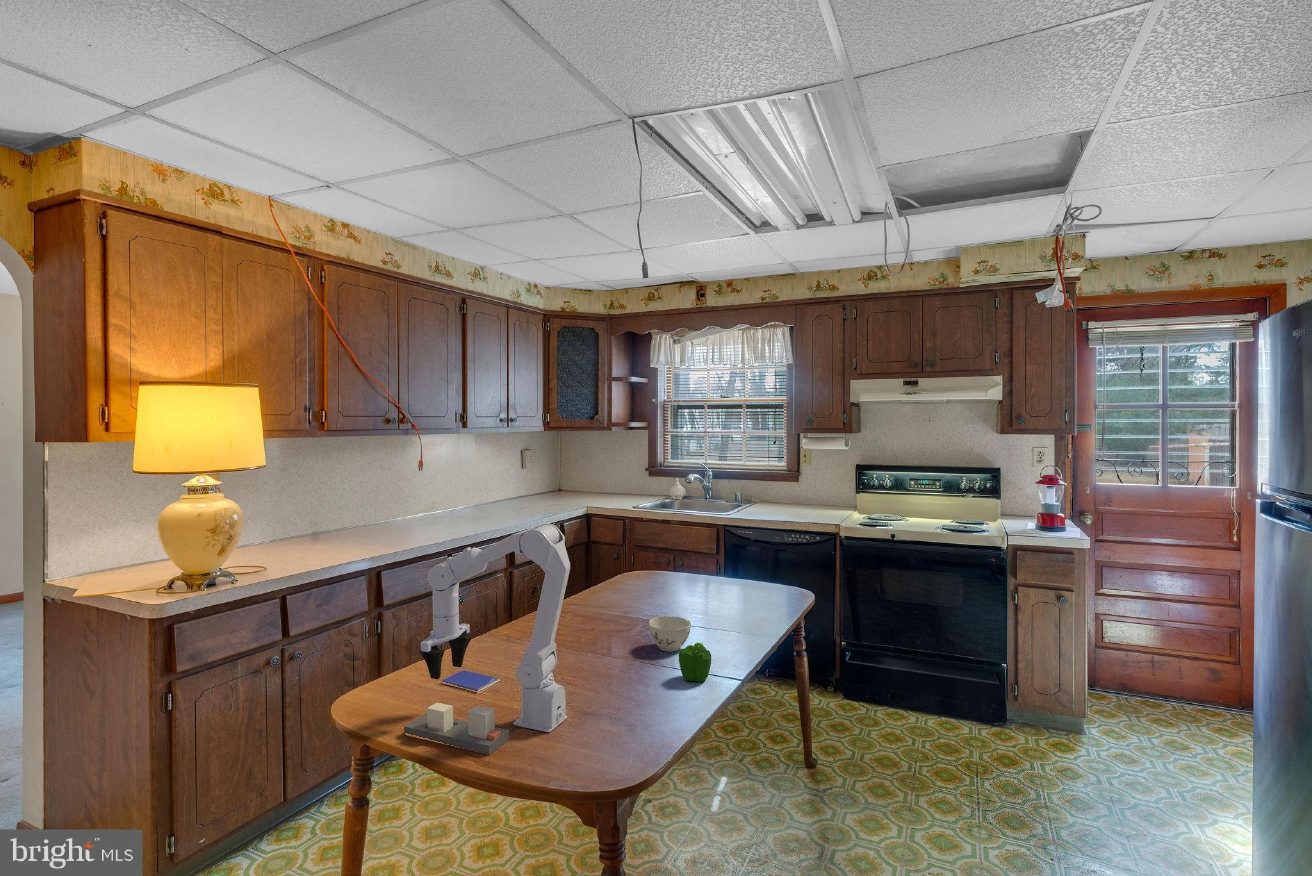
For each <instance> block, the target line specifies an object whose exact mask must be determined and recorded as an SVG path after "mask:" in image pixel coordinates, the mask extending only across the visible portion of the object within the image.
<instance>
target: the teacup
mask: <svg viewBox="0 0 1312 876" xmlns="http://www.w3.org/2000/svg"><path fill="white" fill-rule="evenodd" d="M691 627H692V623H691V621H690V620H687V619H686V618H684V617H681V616H673V615H672V616H671V615H669V616H667V615H661V616H655V617H652V618H650V620H649V621H648V630H649V633H650V636H651V638H652V640H653V642H654V644H655V645H656V646H657V647H658V649H660V650H661V651H664V652H668V653H669V652H673V653H674V652H676V651H680V649H681V648H682V646H683V645H684V644H685V643H686V642H687V640H688V637H689V635H690V632H691Z"/></svg>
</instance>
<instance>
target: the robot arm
mask: <svg viewBox="0 0 1312 876" xmlns="http://www.w3.org/2000/svg"><path fill="white" fill-rule="evenodd" d="M565 542H566V537H565V535H564V534H563V533H562V531H561V530H560V529H559V528H558V527H557V525H554V524H552V523H550V522H549V523H547V522H546V523H543V524H541V525H539V526H538V527H537V526H534V527H531V528H528V529H525V530H521V531H518V532H516V533H513V534H511V535H509V536H507V537H505V538H503V539H501V540H500V541H497V542H495V543H493V544H491V545H490V546H488V547H486V548H483V549H480V548H477V547H472V548H471V547H470V546H469V547H466V548H464V549H463V550H462V553H459V554H457V555H456V556H454V557H453V556H449V557H446V559H445V560H446V561H444V562H441V563H439V564H435V565H434V566H432V567H431V568H430V569H429V570H428V573H427V578H426V579H427V583H428V584H429V586H430V587H431V588H432V630H431V631H430V633H429V636H428V637H427V638H426V639H424V640H423V641H420V648H419V654H420V655H421V657H422V658H423V659H424V662H425V665H426V666H427V671H428V673H429V677H430V679H431V680H439V679H440V678H441V674H442V662H443V658H444V655H445V652H446V650H445V649H440V647H438V646H440V645H442V644H443V645H444V643H447V642H449V643H448V644H449V646H450V647H449V648H450V652H451V653H450V654H451V663H452V666H453V667H456V668H462V667H463V666H462V665H463V663H464V658H465V655H466V652H467V649H468V647H469V644H470V641H471V640H472V635H471V634H469V633H470V631H471V630H470V628H471V626H470V624H469V623H461V624H460V611H459V609H460V608H459V601H460V600H459V598H460V597H459V595H460V594H459V589H460V586H459V585H460V583H461V582H463V581H465V580H468V579H469V578H471V577H473V576H475V575H477V574H479V573H481V572H484V571H485V570H486V569H487V567H488V563H490V562H491V561H494V560H497V559H498V558H501V557H503V556H505V555H507V554H510V553H513V552H514V553H516V554H517V555H522V554H523V555H525V556H526V557H527V558H528V559H530V560H531V561H532V562H533V563H535V564H537V565H538V566H539V567H540V568H541V570H542V571H543V572H544V579H543V582H542V586H541V592H540V596H539V601H538V605H537V610H536V613H535V614H536V615H535V620H534V624H533V629H532V633H531V638H530V641H529V643H528V644H527V647H526V649H525V651H524V654H523V658H522V660H521V661H520V662H519V664H518V665H517V666H516V670H515V674H516V678H517V680H518V682H519V684H520V691H521V692H520V698H521V699H520V704H521V705H520V706H521V708H520V709H521V710H520V713H521V714H520V715H521V716H520V717H519V718H518V719H516V720H515V721H513V723H512V724H513V726H516V727H521V728H527V729H531V730H535V731H540V732H545V733H551V732H552V731H553V730H554V729H555V728H557V727H558V726H559V725H560V724H561V723H563V722H564V721H565V720H566V719H567V718H568V715H566V714H567V713H566V690H565V687H564V686H563V685H562V684H561V685H560V684H558V682H555V679H554V678H555V677H554V674H553V671H554V670H555V669H556V667H557V664H558V657H557V645H558V644H557V643H556V641H555V640H556V639H555V638H556V635H557V632H558V631H557V630H558V625H559V621H560V616H561V613H562V608H563V607H562V606H563V604H564V597H565V593H566V589H567V585H568V580H569V575H570V571H571V562H570V558H569V555H568V551H567V548H566V545H565Z"/></svg>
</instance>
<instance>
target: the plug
mask: <svg viewBox="0 0 1312 876" xmlns="http://www.w3.org/2000/svg"><path fill="white" fill-rule="evenodd" d="M426 713H427V723H428V728H429V729H434V730H438V731H443V732H446V731H448V730H449V729H451V728H452V727H453V719H454V706H453V705H451V704H446V703H443V702H442V703H440V702H435V703H434V704H432V705H430V706H428V707H427V708H426Z"/></svg>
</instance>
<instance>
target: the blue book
mask: <svg viewBox="0 0 1312 876" xmlns="http://www.w3.org/2000/svg"><path fill="white" fill-rule="evenodd" d="M442 681H443V682H446V683H450V684H453V685H457V686H459V687H463V688H465V689H470V690H474V691H476V692H479V691H480V690H483V689H485V688H487V687H489V686H491V685H493V684H494V683H496V682H498V681H500V682H501V679H500V678H499V677H495V676H492V675H491V676H490V675H486V674H482V673H477V672H473V671H470V670H465V669H463V670H460V671H459V672H457V673H454V674H452V675H449V676H448V677H446V678H444V679H442V680H441V682H442ZM493 686H494V685H493ZM491 687H492V686H491ZM489 688H490V687H489ZM487 689H488V688H487ZM485 690H486V689H485ZM483 691H484V690H483ZM479 693H480V692H479Z"/></svg>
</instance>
